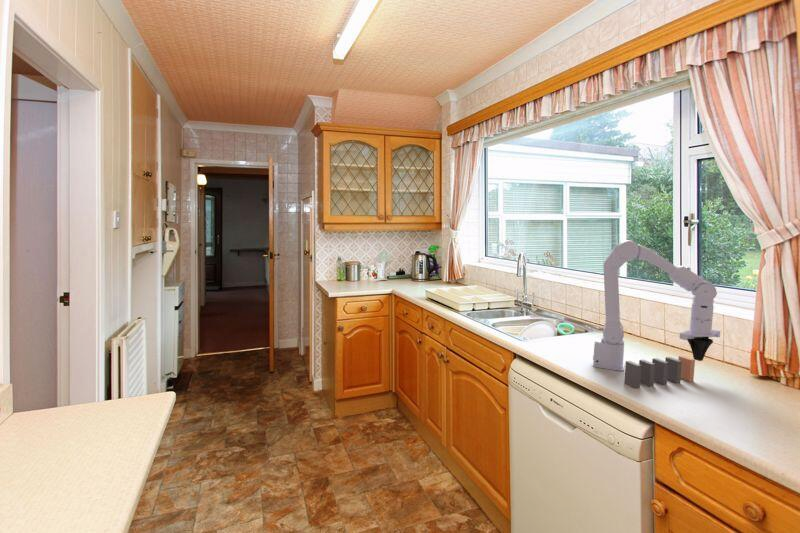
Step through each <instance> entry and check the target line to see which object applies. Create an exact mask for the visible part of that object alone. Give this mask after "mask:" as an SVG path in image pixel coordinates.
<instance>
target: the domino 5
mask: <svg viewBox="0 0 800 533" xmlns="http://www.w3.org/2000/svg"><path fill="white" fill-rule="evenodd" d="M677 360H680V361H682V365H681V379H680V380H684V381H687V382H689V383H690V382H691V383H692V382H694V381H695V380H694V377H695V366H696V365H695V364H696V360H695V359H694V358H691V357H688V356H685V355H678V358H677Z"/></svg>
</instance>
